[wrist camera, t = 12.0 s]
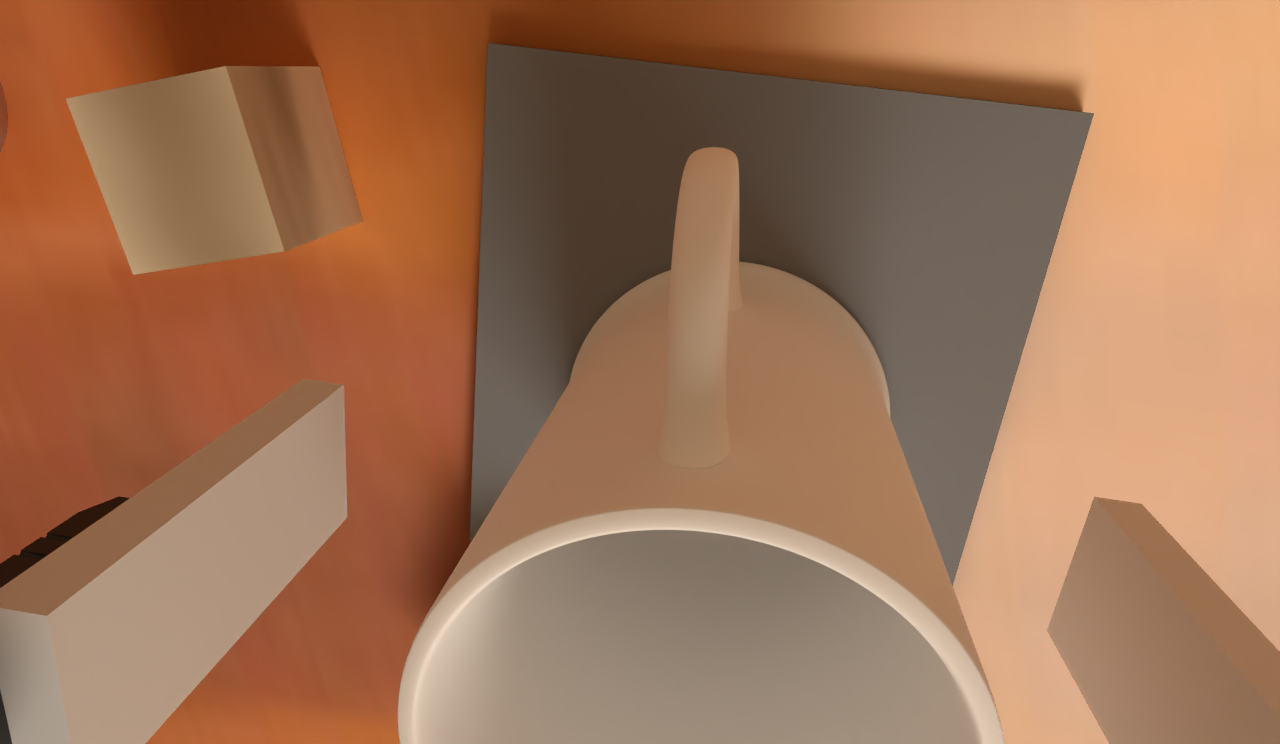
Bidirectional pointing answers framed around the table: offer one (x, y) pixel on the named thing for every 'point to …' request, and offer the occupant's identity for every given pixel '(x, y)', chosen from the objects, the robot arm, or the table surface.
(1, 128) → the beige rounded block
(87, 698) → the robot arm
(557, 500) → the mug
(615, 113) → the coaster
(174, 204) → the maple block
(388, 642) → the table surface
